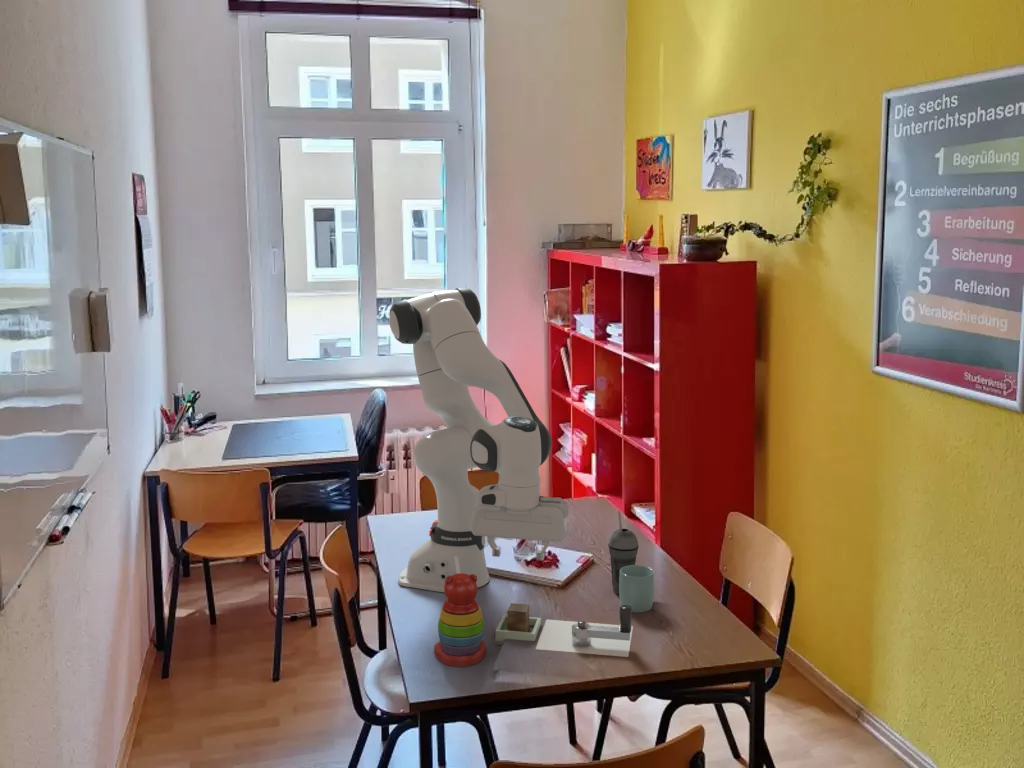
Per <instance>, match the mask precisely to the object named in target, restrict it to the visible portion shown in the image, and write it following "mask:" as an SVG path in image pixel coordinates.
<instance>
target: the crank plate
mask: <svg viewBox="0 0 1024 768" xmlns="http://www.w3.org/2000/svg"><path fill="white" fill-rule="evenodd" d="M576 623H578V621H573V620H571V621H570V620H559V619H546V620H545V623H544V625H543V627H542V631H541V633H540V636H539V639H538V641H537V644H536V647H535V650H537V651H539V650H540V651H541V650H542V651H552V652H553V651H554V652H565V653H575V654H576V653H577V654H589V655H592V654H593V655H599V656H601V655H602V656H613V657H623V658H624V657H625V658H628V657H629V655H630V649H631V648H630V647H631V643H632V635H633V630H634V625H631V632H630V641H628V640H615V639H603V638H591V644H590V645H589V646H585V647H580V646H575V645H573V644H572V625H574V624H576ZM586 624H589V625H593V626H606V627H619V624H612V623H611V624H609V623H596V622H586Z"/></svg>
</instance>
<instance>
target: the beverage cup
mask: <svg viewBox="0 0 1024 768" xmlns="http://www.w3.org/2000/svg"><path fill="white" fill-rule="evenodd" d="M617 513H618V525H619V529H616V530H615V531H613V532H612V534H611V536H610V538H609V541H608V544H607V545H608V549H609V555H610V568H611V582H612V583H611V585H612V592H613V593H614V594H615V595H619V573H620V569H621V568H622V567H625V566H629V565H636V561H637V555H638V551H639V546H640V545H639V541H638V538H637V536H636V534H635V533H634V532H633V531H632V530H631V529H628V528H623V525H622V517H621V515H622V514H621V511H620V510H619V511H617Z"/></svg>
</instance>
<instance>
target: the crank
mask: <svg viewBox="0 0 1024 768" xmlns="http://www.w3.org/2000/svg"><path fill="white" fill-rule="evenodd" d="M632 613H633V612H632V607H631V606H628V605H622V606H621V605H620V606H619V624H618V625H619V627H606V626H593V625H589V624H586V623H587V622H586V621H584V620H579V621H577V622H578V623H576V624H574V625H572V644H573V645H575V646H580V647H585V646H589V645H590V644H591V638H603V639H615V640H628V641H630V632H631V626H632Z"/></svg>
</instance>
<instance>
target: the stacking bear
mask: <svg viewBox="0 0 1024 768" xmlns="http://www.w3.org/2000/svg"><path fill="white" fill-rule="evenodd" d="M476 581H477V576H476V575H474V574H471V575H468V574H463V573H460V574H454V575H452V576H448V577H447V578H446V579H445V585H444V592H443V593H444V595H445V598H446V600H445V601H444V602H443V604H442V608H441V610H440V614H439V618H438V624H437V632H438V638H439V641H438V642H436V643H435V644H434V648H433V653H434V655H435V657H436V658H437V659H438V661H440V662H441V663H443V664H445V665H448V666H451V667H458V668H459V667H462V668H463V667H468V666H473V665H475V664H478V663H480V662H481V661H482V660H483V659H484V658H485V656H486V654H487V645H486V642H484V640H483V638H484V632H485V629H484V628H485V626H484V625H485V624H484V617H483V613H482V609H481V606H480V605H479V602H478V601H477V600H476V596H477V593H478V587H477V584H476Z"/></svg>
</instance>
